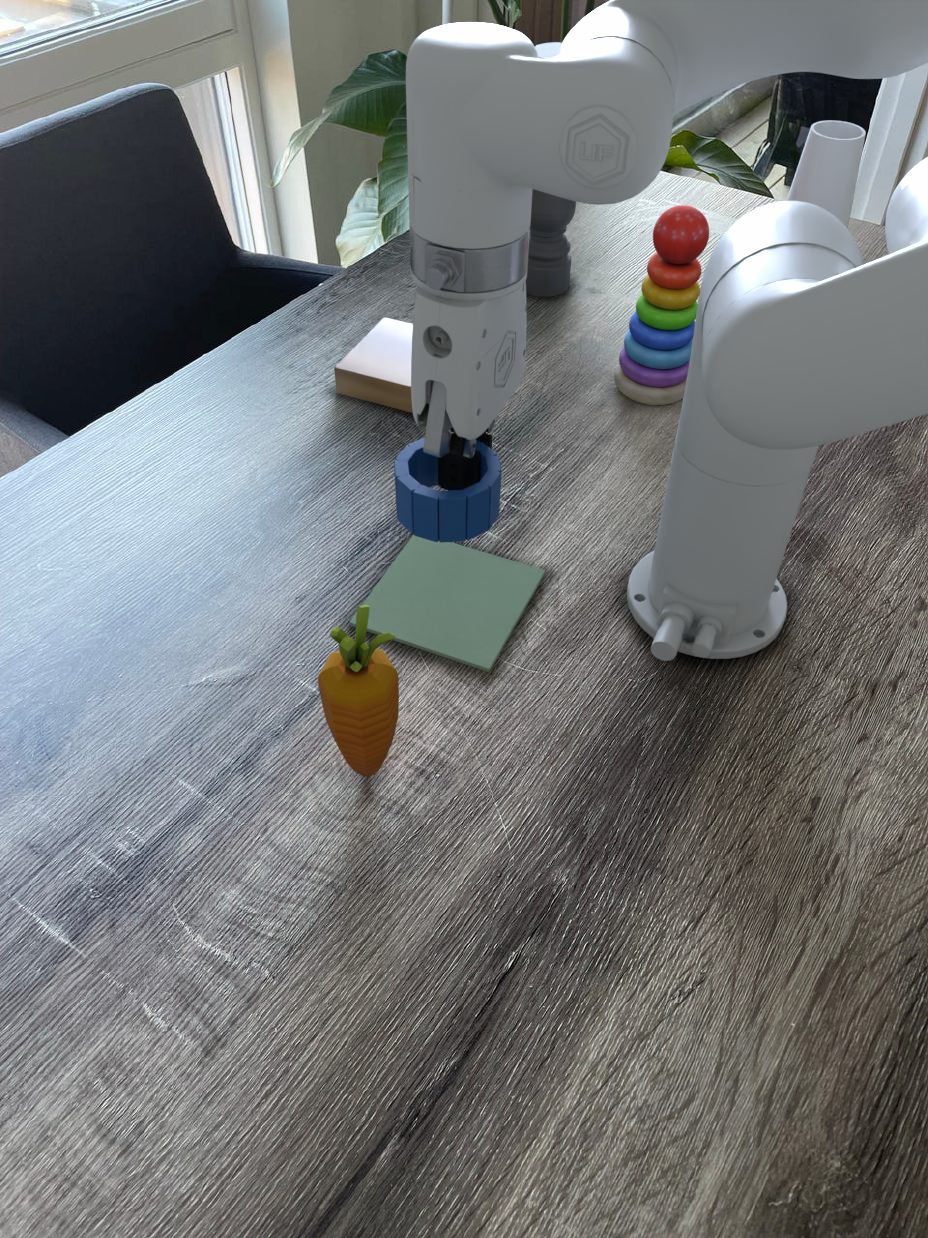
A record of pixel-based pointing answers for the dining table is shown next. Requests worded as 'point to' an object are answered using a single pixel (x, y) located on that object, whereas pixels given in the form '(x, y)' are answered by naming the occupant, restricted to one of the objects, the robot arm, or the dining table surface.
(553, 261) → the candle holder
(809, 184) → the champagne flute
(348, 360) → the platform
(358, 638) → the carrot
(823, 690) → the dining table surface
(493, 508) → the ring
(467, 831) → the dining table surface
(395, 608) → the mat
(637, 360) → the stacking toy
